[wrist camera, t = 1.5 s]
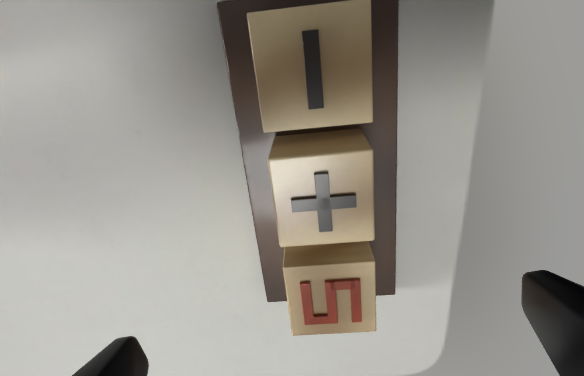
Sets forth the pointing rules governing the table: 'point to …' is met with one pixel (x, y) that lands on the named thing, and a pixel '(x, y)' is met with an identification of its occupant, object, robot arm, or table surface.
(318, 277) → the letter s tile
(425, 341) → the table surface
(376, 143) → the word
